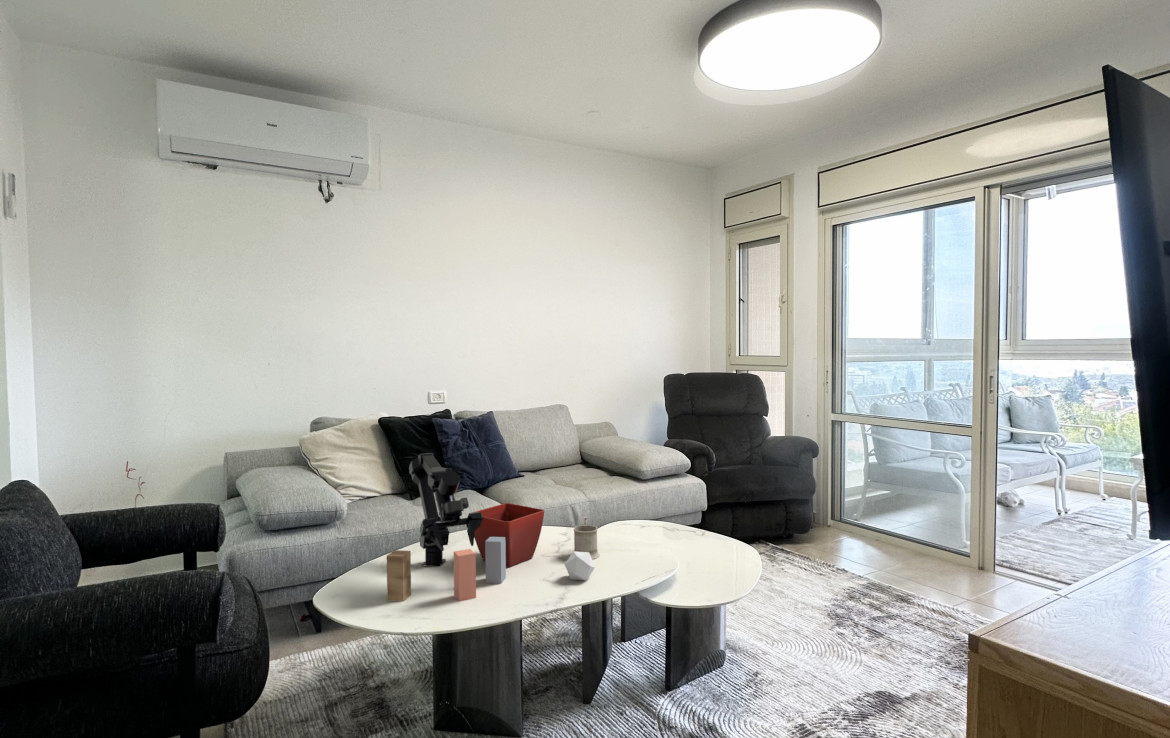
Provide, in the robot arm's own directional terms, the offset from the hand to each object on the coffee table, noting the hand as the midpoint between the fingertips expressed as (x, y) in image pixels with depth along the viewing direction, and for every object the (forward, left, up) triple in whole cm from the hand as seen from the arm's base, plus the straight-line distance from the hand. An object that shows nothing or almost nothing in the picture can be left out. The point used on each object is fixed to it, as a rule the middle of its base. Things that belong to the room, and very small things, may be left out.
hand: (457, 547), depth 182 cm
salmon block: (+5, +4, -13) cm, 14 cm away
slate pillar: (-9, +9, -13) cm, 18 cm away
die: (-14, +35, -13) cm, 40 cm away
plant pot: (-29, +7, -13) cm, 32 cm away
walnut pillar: (+8, -15, -13) cm, 21 cm away
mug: (-39, +33, -13) cm, 53 cm away
